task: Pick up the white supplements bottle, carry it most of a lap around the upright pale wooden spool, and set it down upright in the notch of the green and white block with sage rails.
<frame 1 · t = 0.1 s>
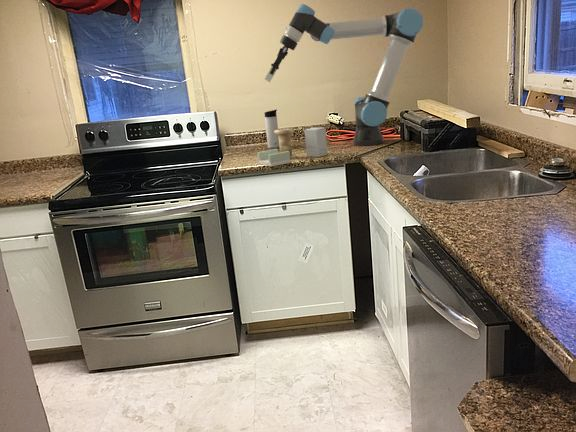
hand: (267, 80, 238), 36 cm above the table, tool tilted 35°, fingers open, 13 cm apart
travel mug: (274, 148, 274), on the table
green and white block: (274, 162, 234), on the table
spool: (286, 157, 244), on the table
supplement box: (317, 155, 243), on the table
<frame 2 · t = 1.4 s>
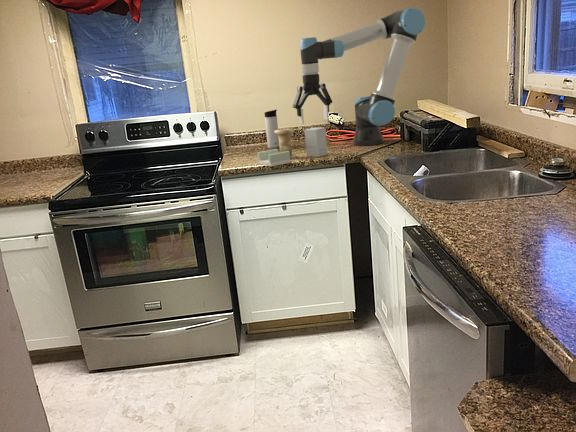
hand: (314, 121, 238), 16 cm above the table, tool pointing down, fingers open, 13 cm apart
nothing on the table moved.
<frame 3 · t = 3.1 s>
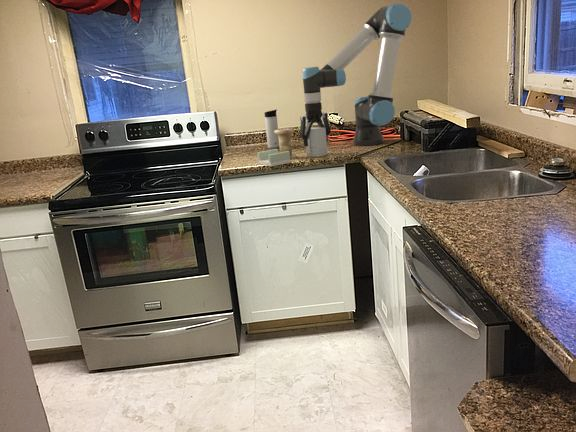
hand: (316, 151, 242), 2 cm above the table, tool pointing down, fingers closed on supplement box, 9 cm apart
supplement box: (317, 155, 243), on the table, touching gripper
everything else where it was.
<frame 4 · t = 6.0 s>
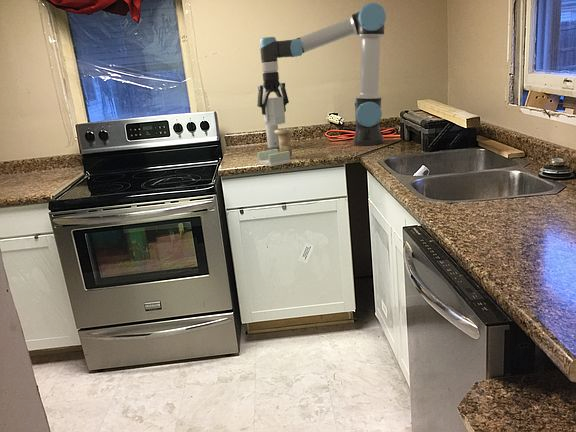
hand: (274, 120, 250), 17 cm above the table, tool pointing down, fingers closed on supplement box, 9 cm apart
supplement box: (275, 124, 250), point 15 cm above the table, touching gripper
everything else where it was.
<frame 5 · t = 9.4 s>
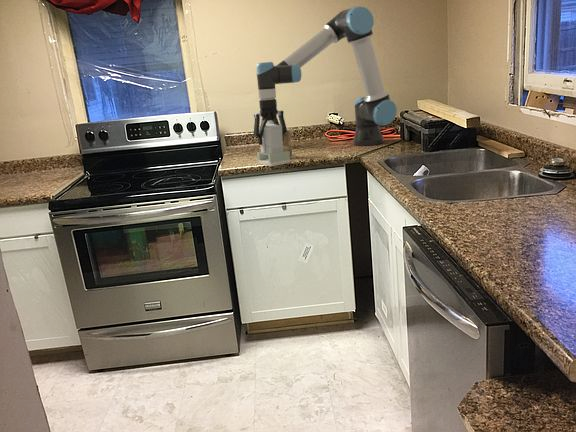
hand: (272, 150, 232), 6 cm above the table, tool pointing down, fingers closed on supplement box, 8 cm apart
supplement box: (272, 153, 233), point 4 cm above the table, touching green and white block, gripper
everything else where it was.
when the fingers open (5 cm above the table, at t = 10.0 s): supplement box drops 3 cm, resting on green and white block.
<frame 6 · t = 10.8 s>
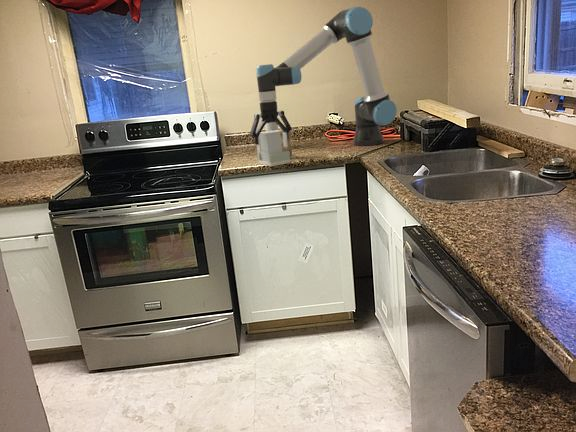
hand: (272, 149, 232), 6 cm above the table, tool pointing down, fingers open, 13 cm apart
supplement box: (272, 160, 234), point 1 cm above the table, touching green and white block
everything else where it was.
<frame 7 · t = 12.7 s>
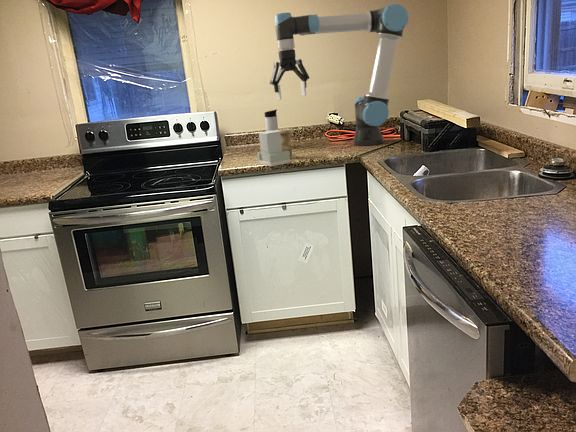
hand: (291, 97, 239), 27 cm above the table, tool pointing down, fingers open, 13 cm apart
nothing on the table moved.
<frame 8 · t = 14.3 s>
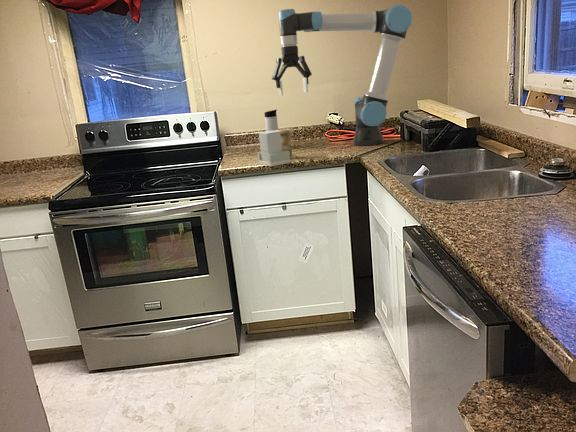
hand: (293, 93, 241), 29 cm above the table, tool pointing down, fingers open, 13 cm apart
nothing on the table moved.
at the end: supplement box 0.8 cm off-centre on the green and white block, point 1.3 cm above the green and white block's base; supplement box tilted 0°; the gripper is holding nothing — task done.
